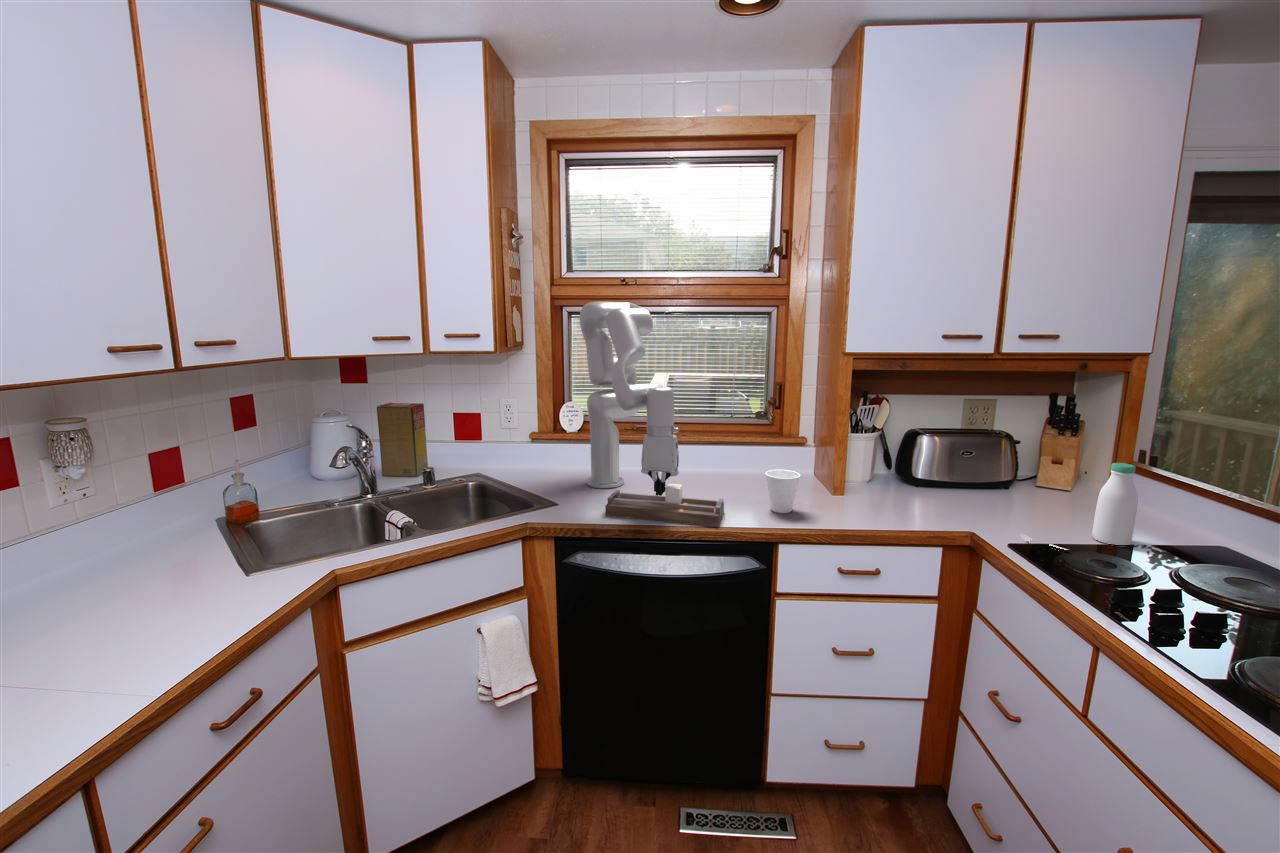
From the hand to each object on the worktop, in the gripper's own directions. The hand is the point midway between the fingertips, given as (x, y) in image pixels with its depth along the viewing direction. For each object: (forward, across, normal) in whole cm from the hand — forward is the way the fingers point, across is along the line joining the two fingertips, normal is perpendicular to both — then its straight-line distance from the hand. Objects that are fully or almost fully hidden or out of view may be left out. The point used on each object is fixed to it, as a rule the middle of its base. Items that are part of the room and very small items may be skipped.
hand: (659, 494), depth 161 cm
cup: (+6, -34, -12) cm, 36 cm away
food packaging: (+6, +98, -16) cm, 99 cm away
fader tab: (+2, -4, 0) cm, 5 cm away
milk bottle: (+6, -115, -11) cm, 115 cm away
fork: (+6, -101, 0) cm, 101 cm away
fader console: (+6, -2, 0) cm, 6 cm away
